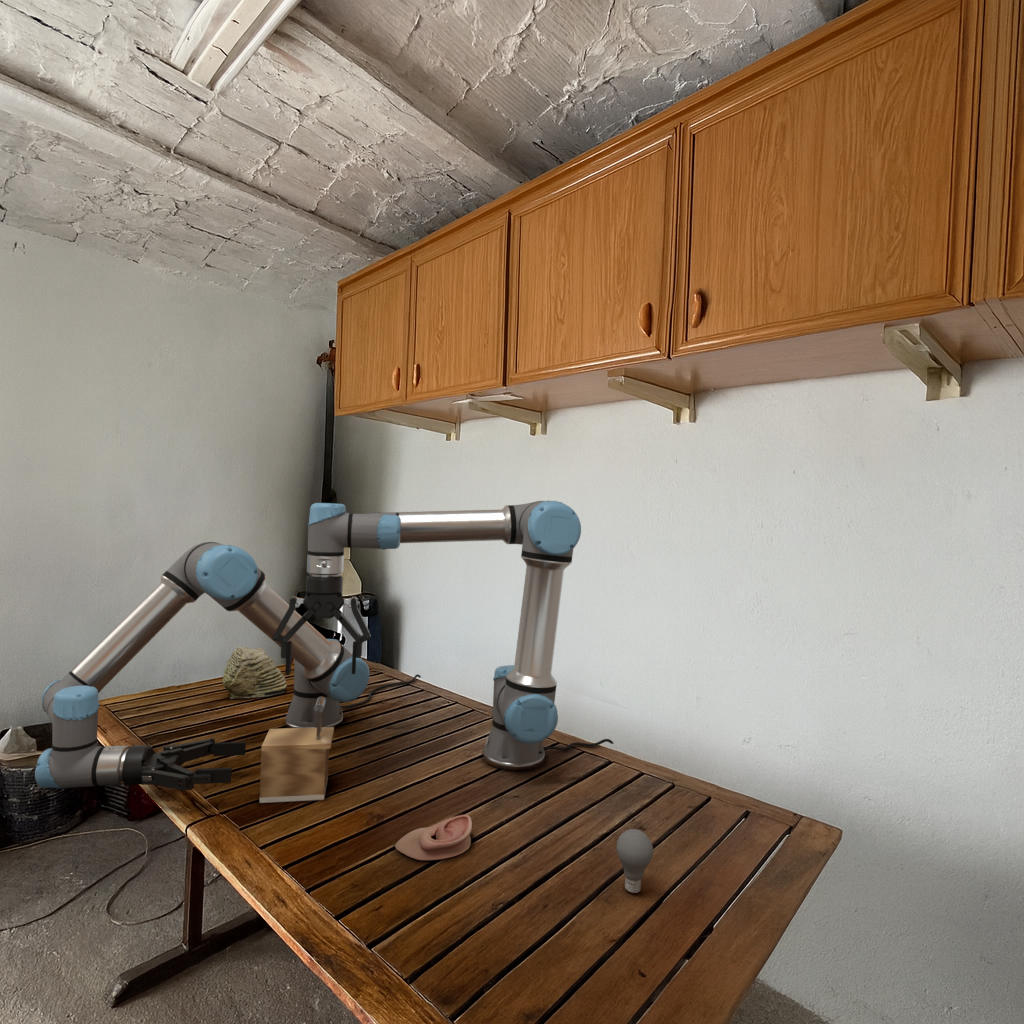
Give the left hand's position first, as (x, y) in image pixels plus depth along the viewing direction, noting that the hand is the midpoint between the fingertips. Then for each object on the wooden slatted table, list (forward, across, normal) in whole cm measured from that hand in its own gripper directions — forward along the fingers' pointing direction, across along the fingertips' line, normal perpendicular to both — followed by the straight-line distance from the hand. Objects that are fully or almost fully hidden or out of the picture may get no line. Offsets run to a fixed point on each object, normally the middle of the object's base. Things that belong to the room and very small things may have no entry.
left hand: (238, 761), depth 133 cm
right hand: (+16, 0, +18) cm, 24 cm away
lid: (+12, 0, +4) cm, 13 cm away
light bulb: (+71, +43, -7) cm, 83 cm away
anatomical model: (+39, +25, -7) cm, 47 cm away
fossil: (-9, -68, -7) cm, 69 cm away
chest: (+12, 0, -7) cm, 13 cm away
